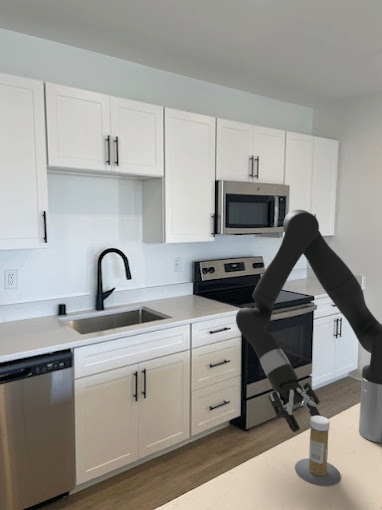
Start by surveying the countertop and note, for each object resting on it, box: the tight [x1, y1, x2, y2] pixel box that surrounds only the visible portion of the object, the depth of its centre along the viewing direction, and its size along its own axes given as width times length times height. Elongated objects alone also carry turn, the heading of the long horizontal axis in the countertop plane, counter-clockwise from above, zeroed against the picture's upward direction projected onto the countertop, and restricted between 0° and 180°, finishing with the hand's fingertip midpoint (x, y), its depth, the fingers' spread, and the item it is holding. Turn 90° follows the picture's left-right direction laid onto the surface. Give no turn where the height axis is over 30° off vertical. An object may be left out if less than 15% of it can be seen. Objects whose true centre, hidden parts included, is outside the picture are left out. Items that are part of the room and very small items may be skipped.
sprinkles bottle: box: [308, 415, 331, 476], centre depth 97 cm, size 5×5×13 cm
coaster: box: [294, 457, 342, 487], centre depth 97 cm, size 11×11×1 cm
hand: (308, 427), depth 99 cm, fingers open, 8 cm apart
